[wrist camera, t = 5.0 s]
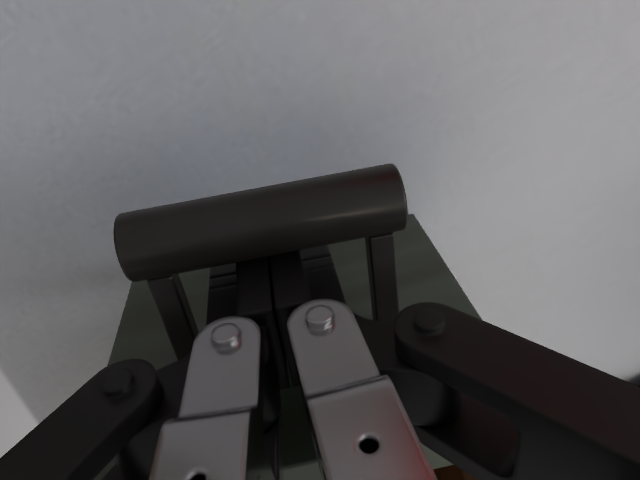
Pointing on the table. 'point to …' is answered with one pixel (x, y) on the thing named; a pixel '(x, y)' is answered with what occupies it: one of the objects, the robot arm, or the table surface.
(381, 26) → the table surface
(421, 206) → the table surface
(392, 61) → the table surface
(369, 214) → the drawer
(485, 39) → the table surface
